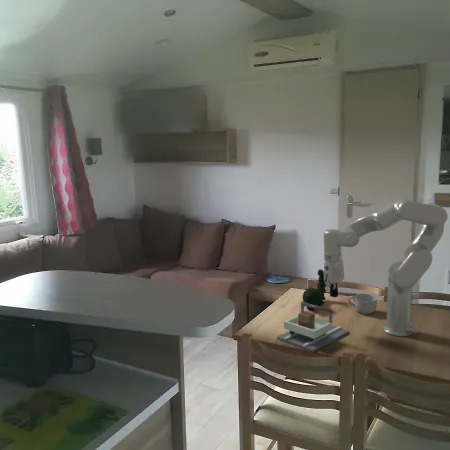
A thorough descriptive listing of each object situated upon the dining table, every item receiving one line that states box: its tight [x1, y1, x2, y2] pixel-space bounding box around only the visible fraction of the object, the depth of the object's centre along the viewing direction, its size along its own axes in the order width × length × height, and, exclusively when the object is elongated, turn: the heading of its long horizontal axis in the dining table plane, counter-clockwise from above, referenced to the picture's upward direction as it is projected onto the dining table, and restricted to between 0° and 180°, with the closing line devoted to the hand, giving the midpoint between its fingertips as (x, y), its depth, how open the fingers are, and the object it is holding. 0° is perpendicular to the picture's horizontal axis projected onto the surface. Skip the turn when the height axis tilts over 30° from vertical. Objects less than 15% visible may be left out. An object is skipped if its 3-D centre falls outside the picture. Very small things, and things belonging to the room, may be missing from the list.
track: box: [276, 325, 350, 353], centre depth 210 cm, size 19×27×2 cm
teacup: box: [347, 293, 378, 315], centre depth 237 cm, size 14×11×8 cm
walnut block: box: [297, 310, 316, 329], centre depth 205 cm, size 5×5×6 cm
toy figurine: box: [302, 269, 327, 311], centre depth 245 cm, size 9×19×25 cm
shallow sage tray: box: [283, 301, 334, 341], centre depth 206 cm, size 16×13×11 cm
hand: (334, 296), depth 215 cm, fingers closed
